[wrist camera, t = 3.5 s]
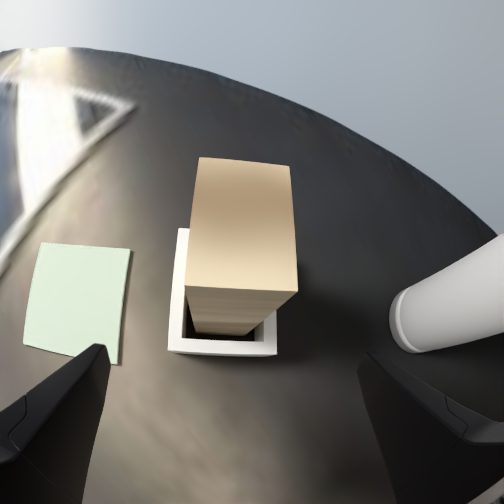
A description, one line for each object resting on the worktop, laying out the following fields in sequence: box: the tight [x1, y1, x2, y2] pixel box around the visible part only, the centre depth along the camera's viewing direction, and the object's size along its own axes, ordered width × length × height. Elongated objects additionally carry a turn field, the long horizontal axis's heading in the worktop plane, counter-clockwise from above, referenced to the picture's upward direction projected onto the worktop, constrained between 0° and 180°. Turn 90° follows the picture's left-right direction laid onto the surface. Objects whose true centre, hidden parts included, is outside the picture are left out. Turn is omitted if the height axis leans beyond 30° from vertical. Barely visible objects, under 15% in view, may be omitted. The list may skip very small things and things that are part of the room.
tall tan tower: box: [184, 157, 298, 336], centre depth 15 cm, size 5×4×12 cm
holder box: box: [168, 228, 277, 357], centre depth 19 cm, size 8×7×4 cm
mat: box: [23, 243, 131, 365], centre depth 19 cm, size 9×9×1 cm
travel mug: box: [389, 233, 504, 353], centre depth 14 cm, size 6×7×20 cm
